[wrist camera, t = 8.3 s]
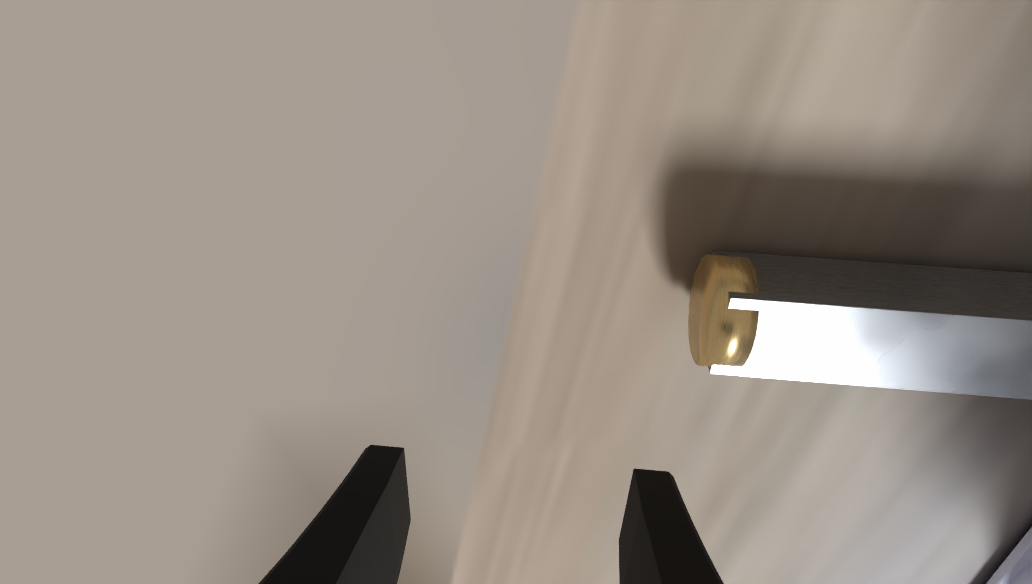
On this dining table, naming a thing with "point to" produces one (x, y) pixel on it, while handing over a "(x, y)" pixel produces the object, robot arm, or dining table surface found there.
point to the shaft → (863, 323)
